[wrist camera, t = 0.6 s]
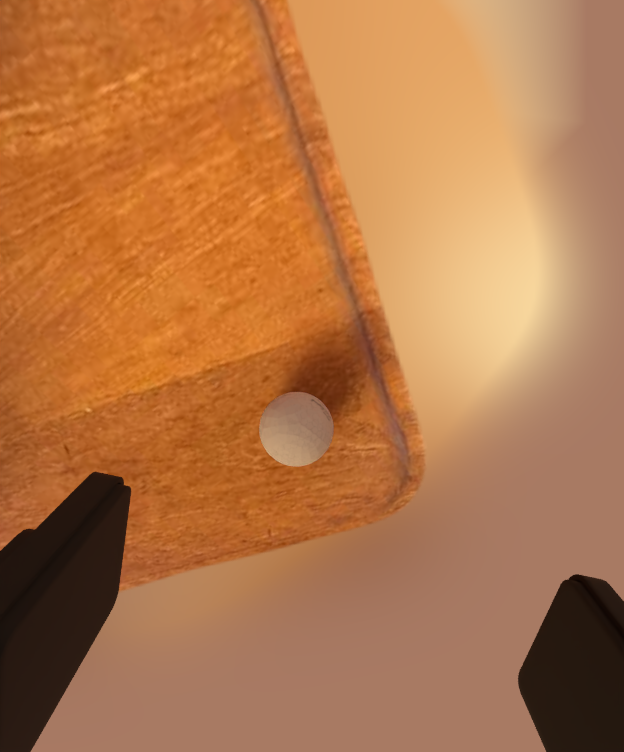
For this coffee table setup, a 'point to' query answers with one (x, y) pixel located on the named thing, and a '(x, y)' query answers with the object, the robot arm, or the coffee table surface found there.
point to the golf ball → (296, 429)
